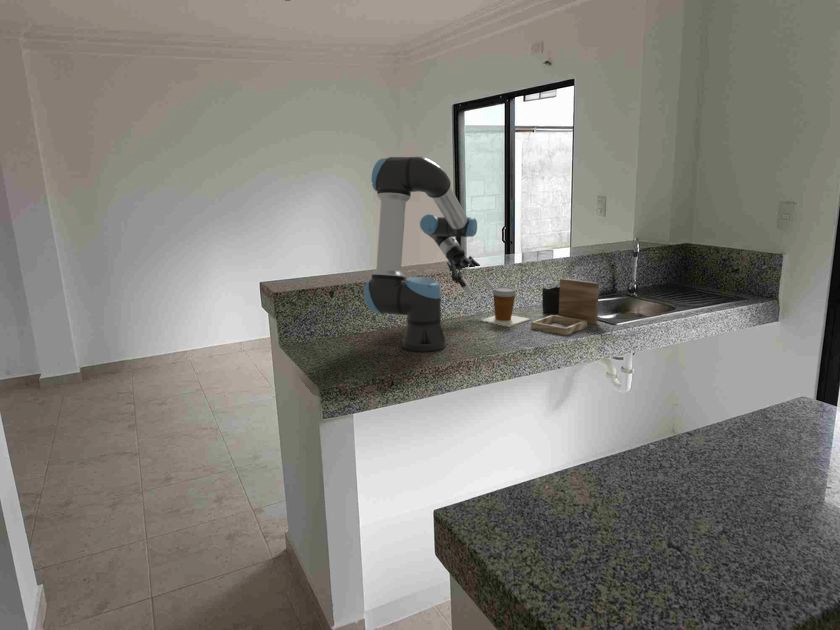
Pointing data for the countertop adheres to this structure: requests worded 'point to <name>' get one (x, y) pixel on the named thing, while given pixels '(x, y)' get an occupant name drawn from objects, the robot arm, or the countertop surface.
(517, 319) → the mat
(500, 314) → the disposable coffee cup
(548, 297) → the pen holder
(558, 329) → the brown wooden l-shaped tray
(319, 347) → the countertop surface
